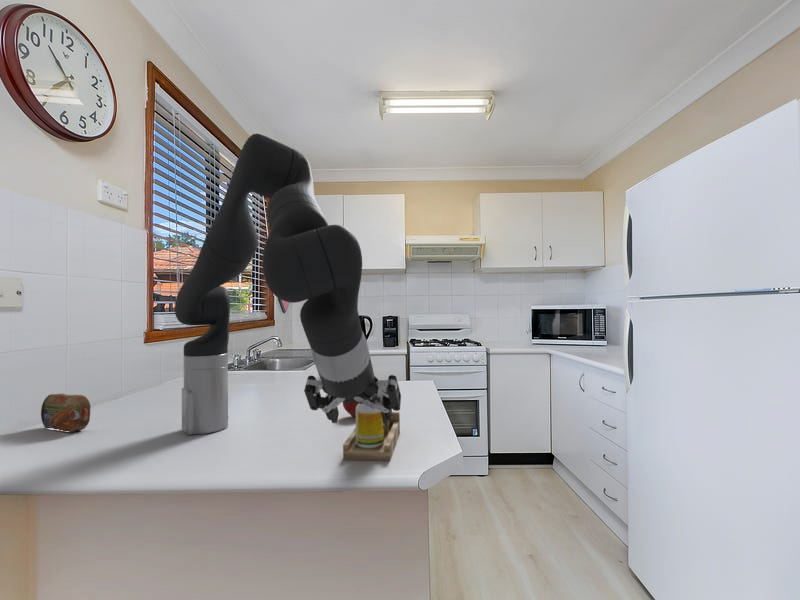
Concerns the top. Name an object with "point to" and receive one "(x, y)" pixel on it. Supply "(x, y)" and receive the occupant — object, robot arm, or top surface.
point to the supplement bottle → (369, 427)
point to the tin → (65, 412)
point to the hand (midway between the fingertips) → (360, 418)
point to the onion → (350, 408)
